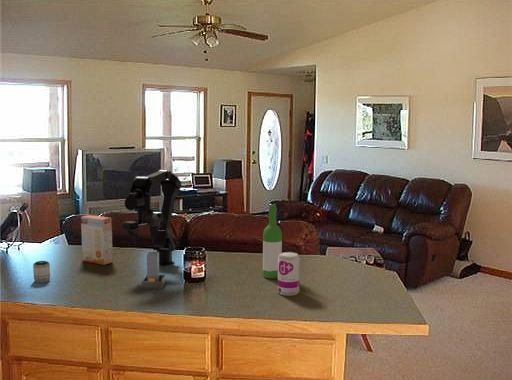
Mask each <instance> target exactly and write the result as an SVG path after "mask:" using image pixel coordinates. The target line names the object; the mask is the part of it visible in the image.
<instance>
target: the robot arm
mask: <svg viewBox="0 0 512 380" xmlns="http://www.w3.org/2000/svg"><path fill="white" fill-rule="evenodd" d="M157 184H159V185H160V186H161V192H162V194H163V201H162V206H161V212H158V213H154V209H153V208H152V206H151V204H152V202H151V201H152V200H151V196H152V195H153V192H152V190H153V189H154V188H155V185H157ZM181 188H182V182H181V180H180V179H179V177H178V176H177V175H176V174H174V173H172V171H171V170H169V169H159V170H158V171H156V172H153V173H151V174H149V175H145V176H143V175H139V176H135V177H134V179H133V181H132V185H131V188H130V191H129V193H128V196H126V198H125V200H124V206H125V208H126V209H127V210H128V211H134V212H135V213H136V218H134V220H133V221H132V220H128V221H123V223H122V224H121V225H122V228H121V229H122V230H124V231H126V232H127V233H128V235H129V237H130V239H131V240H132V243H133V244H134V245H135V246H138V233H139V231H140V229H139V227H142V226H149V233H150V239H151V245H152V249H153V251H156V252H159V266H163V267H164V266H168V265H172V264H175V261H173V253H172V252H175V250H176V244H175V242H174V240H173V235H172V234H173V233H172V232H171V222H172V216H173V211H174V204H175V198H176V197H177V196H178V195H179V194H180V191H181Z"/></svg>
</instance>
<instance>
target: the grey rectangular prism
mask: <svg viewBox="0 0 512 380" xmlns="http://www.w3.org/2000/svg"><path fill="white" fill-rule="evenodd" d="M146 275H147V281H149V278H155V281H159V275H160V265H159V252H157V251H148V252H147V253H146Z"/></svg>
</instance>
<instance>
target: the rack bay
mask: <svg viewBox="0 0 512 380" xmlns="http://www.w3.org/2000/svg"><path fill="white" fill-rule="evenodd" d="M164 283H166V274H159V281H155V278H149V281H147V274H145V275H144V276H143V278H142V280H141V282H140V285H141V290H163V288H164V285H165V284H164Z"/></svg>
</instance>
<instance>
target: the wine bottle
mask: <svg viewBox="0 0 512 380" xmlns="http://www.w3.org/2000/svg"><path fill="white" fill-rule="evenodd" d="M268 206H269V207H268V211H269V212H268V225H267V226H266V227H264V229H263V233H262V234H263V236H262V275H263V277H264V278H265V279H269V280H270V279H272V280H275V279H278V257H279V255H280V253H283V252H282V251H283V249H282V248H283V240H282V239H283V233H282V229H281V227H279V225H277V205H275V204H274V205H273V204H270V205H268Z"/></svg>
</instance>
